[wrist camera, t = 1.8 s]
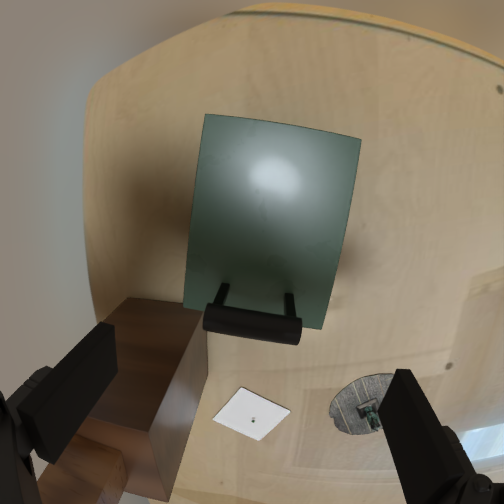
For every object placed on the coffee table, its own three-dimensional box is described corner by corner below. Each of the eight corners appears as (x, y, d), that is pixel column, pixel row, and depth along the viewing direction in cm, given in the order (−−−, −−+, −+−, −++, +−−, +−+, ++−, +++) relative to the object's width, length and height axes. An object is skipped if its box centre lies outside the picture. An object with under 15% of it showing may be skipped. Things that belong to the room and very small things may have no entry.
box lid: (320, 325, 26) (333, 375, 19) (185, 303, 26) (158, 347, 20) (359, 140, 22) (392, 130, 15) (207, 115, 22) (181, 95, 15)
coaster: (241, 387, 39) (240, 390, 38) (291, 411, 39) (291, 415, 39) (212, 419, 41) (211, 423, 40) (258, 440, 41) (258, 444, 41)
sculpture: (369, 440, 41) (350, 461, 35) (334, 401, 46) (311, 417, 40) (425, 393, 37) (416, 411, 31) (386, 352, 42) (370, 362, 36)
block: (81, 462, 19) (44, 529, 11) (70, 431, 18) (22, 503, 10) (128, 480, 19) (97, 554, 11) (121, 451, 18) (80, 535, 10)
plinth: (127, 297, 36) (30, 395, 17) (206, 305, 36) (147, 432, 17) (136, 364, 39) (68, 472, 20) (208, 374, 39) (168, 503, 19)
